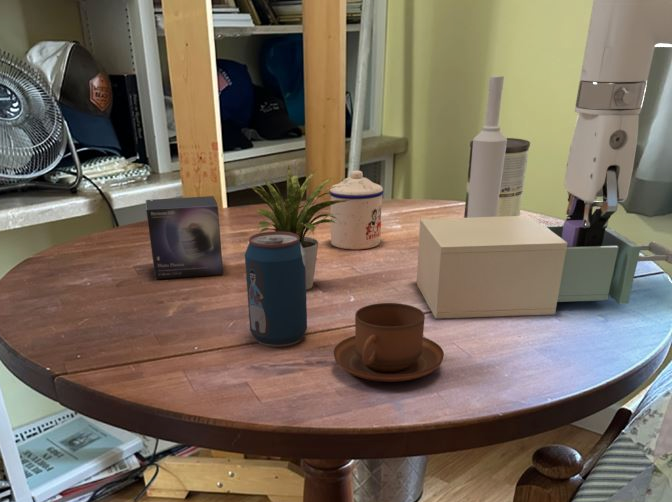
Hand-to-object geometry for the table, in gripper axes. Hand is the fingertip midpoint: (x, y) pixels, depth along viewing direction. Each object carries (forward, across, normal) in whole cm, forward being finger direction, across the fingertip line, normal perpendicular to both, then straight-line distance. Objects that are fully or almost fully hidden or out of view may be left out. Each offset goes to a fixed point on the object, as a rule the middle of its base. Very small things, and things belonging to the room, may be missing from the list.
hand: (579, 252), depth 94 cm
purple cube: (0, 0, 0) cm, 0 cm away
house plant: (+6, +7, +39) cm, 40 cm away
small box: (+6, +17, +55) cm, 58 cm away
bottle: (+6, +26, +7) cm, 28 cm away
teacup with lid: (+6, +32, +27) cm, 42 cm away
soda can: (+6, -12, +41) cm, 43 cm away
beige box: (+6, 0, +13) cm, 14 cm away
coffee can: (+6, +41, +1) cm, 41 cm away
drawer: (+5, 0, -1) cm, 5 cm away
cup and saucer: (+6, -22, +29) cm, 37 cm away
